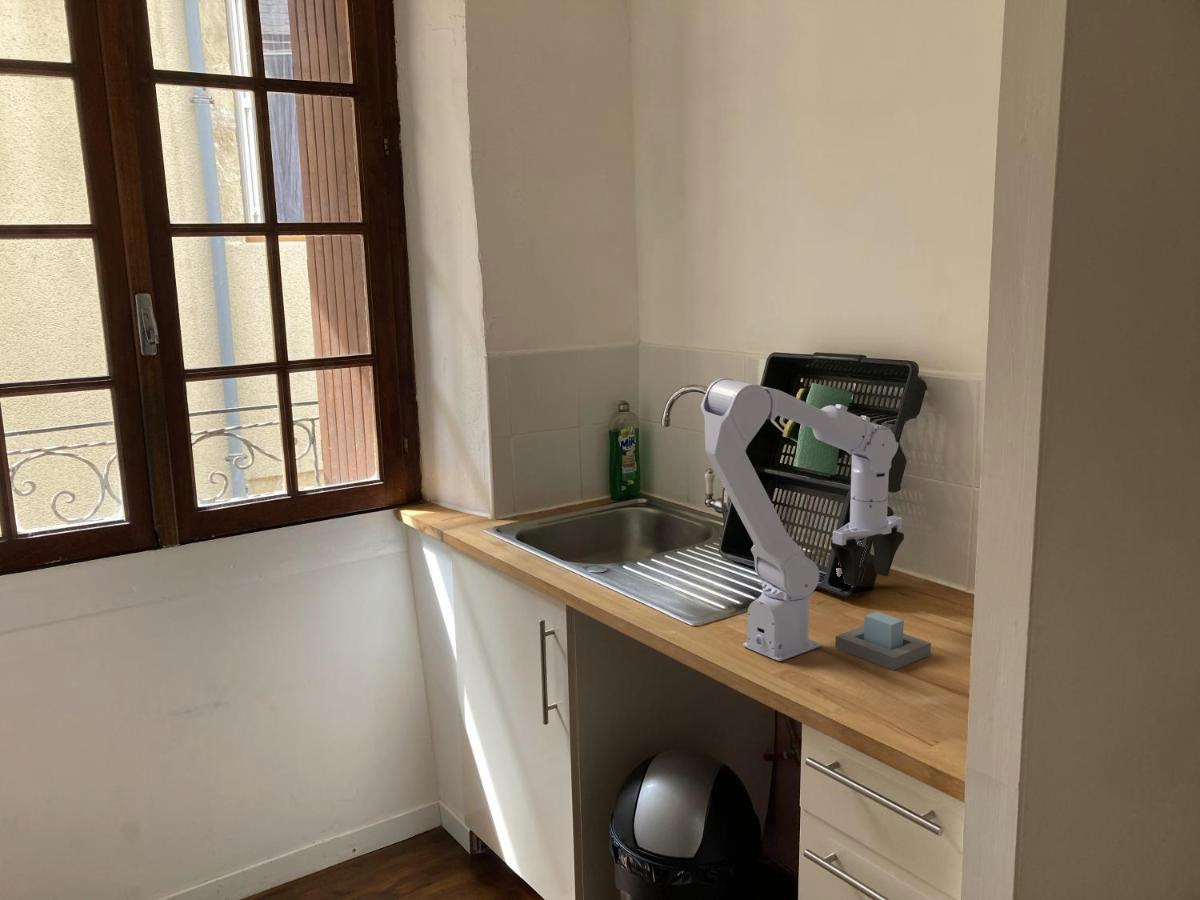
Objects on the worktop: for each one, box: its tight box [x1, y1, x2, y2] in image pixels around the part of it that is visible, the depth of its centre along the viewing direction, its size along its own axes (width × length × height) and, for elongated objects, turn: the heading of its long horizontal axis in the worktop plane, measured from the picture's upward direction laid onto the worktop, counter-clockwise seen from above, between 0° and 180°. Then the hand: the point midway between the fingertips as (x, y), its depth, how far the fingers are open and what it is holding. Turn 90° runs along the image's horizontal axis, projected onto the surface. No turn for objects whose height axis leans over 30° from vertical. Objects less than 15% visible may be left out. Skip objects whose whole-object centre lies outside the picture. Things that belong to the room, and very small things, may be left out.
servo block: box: [863, 611, 905, 650], centre depth 154 cm, size 3×5×5 cm, turn 37°
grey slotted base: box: [834, 625, 932, 671], centre depth 154 cm, size 9×11×2 cm
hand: (866, 579), depth 161 cm, fingers open, 7 cm apart
